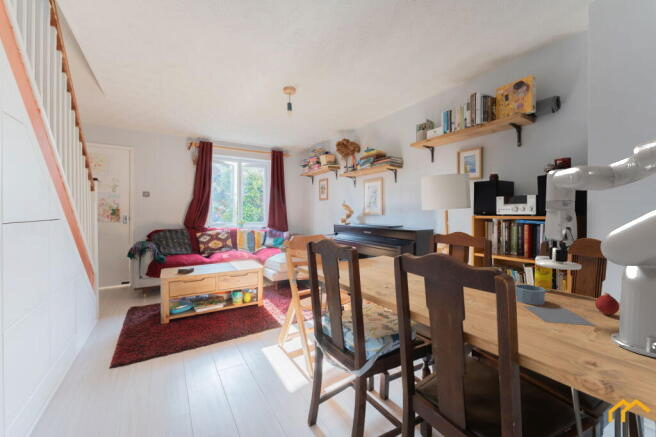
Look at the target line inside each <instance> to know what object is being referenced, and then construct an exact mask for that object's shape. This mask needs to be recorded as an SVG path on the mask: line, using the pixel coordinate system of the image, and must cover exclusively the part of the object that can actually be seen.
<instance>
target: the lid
mask: <svg viewBox="0 0 656 437" xmlns="http://www.w3.org/2000/svg"><path fill="white" fill-rule="evenodd" d="M556 250H558V249H557V248H553V253H552V260H536V265H539V266H543V267H548V268H552V269H556V270H566V271H571V270H572V271H578V270H581V269H582V264H580V263H578V262H577V263H576V262H572V261H567V262H557V261H555V257H556Z"/></svg>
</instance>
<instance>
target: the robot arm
mask: <svg viewBox="0 0 656 437" xmlns="http://www.w3.org/2000/svg"><path fill="white" fill-rule="evenodd" d="M655 174H656V137H654V138H651V139H649V140H645V141H642V142H640V143H638V144H636V146H634V148H633V150H632V155H630V156H629V157H627V158H624V159H622V160H619V161H615V162H613V163H610V164H607V165H603V166H601V165H575V166H573V167H572V166H571V167H569V168H561V169H552V170H550V171H548V172H547V175H546V187H545V188H546V189H545V190H546V193H545V195H546V196H545V211H546V215H545V222H544V236H545V239H546V241H547V243H548V248H549V250H548V251H549V252H548V257H549V259H550V260H552V253H553V248H557V249H558V250H556V257H555V261H557V262H568V255H569V254H568V253H569V252H568V251H569V250H570V246H571V245H573V244H574V241H576V240H577V239H578V224H577V216H576V211H575V210H576V208H575V207H576V206H575V205H576V204H575V203H576V202H575V201H576V191H606V190H611V189H614V188H619V187H622V186H626V185H630V184H633V183H636V182H638V181H642V180H644V179H646V178H648V177H650V176H651V175H655ZM600 251H601V254H602V256H603V257H604V258H605V259H606V260H608V261H609V262H611V263H613V264H615V265H618V266H623V270H622V274H621V282H620V283H621V284H620V301H619V302H620V303H619V323H618V324H619V325H618V326H619V327H618V328H619V330H618V332H615V333H612V334H611V335H610V340H611V341H612V342H613V343H614V344H616V345H618V346H619V347H620V348H623V349H625V350H628V351H630V352H633V353H637V354H640V355H644V356H645V357H647V356H648V357H651V358H656V209H653V210H651V211H649V212H646V213H645V214H642V215H640V216H639V217H636V218H635V219H633V220H630V221H628V222H626V223H625V224H623V225H620V226H619V227H617V228H615V229H613V230H611V231H610V232H608V233H607V234H606V235H605V236H604V237H603V239H602V240H601V242H600Z"/></svg>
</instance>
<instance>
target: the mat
mask: <svg viewBox="0 0 656 437" xmlns="http://www.w3.org/2000/svg"><path fill="white" fill-rule="evenodd" d="M523 307H524V308H526V309H527V310H528V311H529V312H531V313H532V314H534V315H535V316H536V317H538V318H539V319H540V320H542V321H543V322H545V323H553V324H566V325H579V326H592V327H593V326H594V327H597V325H596V324H594V323H593V322H591V321H589V320H588V319H585V318H584V317H582V316H581V315H578V314H577V313H575V312H573V311H572V310H570V309H568V308H562V307H560V308H559V307H548V306H547V307H546V306H545V307H544V306H534V305H533V306H530V305H523Z"/></svg>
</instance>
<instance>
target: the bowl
mask: <svg viewBox="0 0 656 437" xmlns="http://www.w3.org/2000/svg"><path fill="white" fill-rule="evenodd" d="M516 296H517V301H516V302H518V303H522V304H526V305H533V306H534V305H535V306H541V305H542V306H543V305H545V303H546V291H545V289H544V288H542V287H538V286H535V284H533V285H532V284H525V283H516Z"/></svg>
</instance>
